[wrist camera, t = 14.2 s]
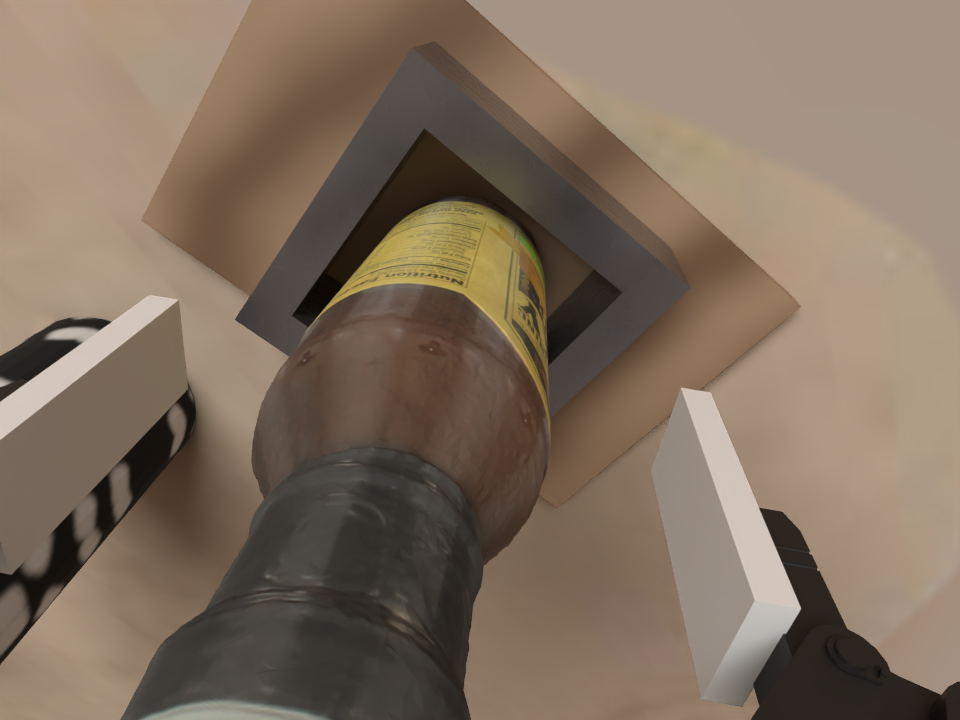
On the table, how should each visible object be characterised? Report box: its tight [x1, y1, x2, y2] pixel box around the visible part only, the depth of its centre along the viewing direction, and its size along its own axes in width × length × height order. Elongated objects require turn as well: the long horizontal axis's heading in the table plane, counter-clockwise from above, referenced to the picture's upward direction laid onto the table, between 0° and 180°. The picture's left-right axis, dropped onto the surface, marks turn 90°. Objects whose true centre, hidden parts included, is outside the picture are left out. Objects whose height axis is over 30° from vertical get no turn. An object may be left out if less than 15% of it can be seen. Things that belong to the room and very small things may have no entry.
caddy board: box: [141, 0, 801, 508], centre depth 25 cm, size 22×14×1 cm, turn 52°
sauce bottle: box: [121, 196, 551, 720], centre depth 16 cm, size 6×6×20 cm
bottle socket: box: [235, 41, 691, 418], centre depth 23 cm, size 11×11×4 cm
